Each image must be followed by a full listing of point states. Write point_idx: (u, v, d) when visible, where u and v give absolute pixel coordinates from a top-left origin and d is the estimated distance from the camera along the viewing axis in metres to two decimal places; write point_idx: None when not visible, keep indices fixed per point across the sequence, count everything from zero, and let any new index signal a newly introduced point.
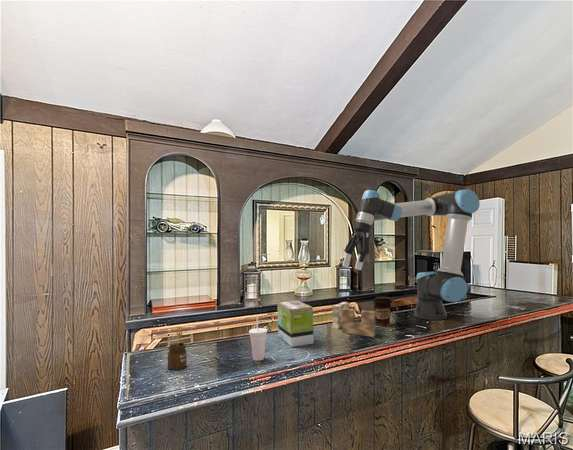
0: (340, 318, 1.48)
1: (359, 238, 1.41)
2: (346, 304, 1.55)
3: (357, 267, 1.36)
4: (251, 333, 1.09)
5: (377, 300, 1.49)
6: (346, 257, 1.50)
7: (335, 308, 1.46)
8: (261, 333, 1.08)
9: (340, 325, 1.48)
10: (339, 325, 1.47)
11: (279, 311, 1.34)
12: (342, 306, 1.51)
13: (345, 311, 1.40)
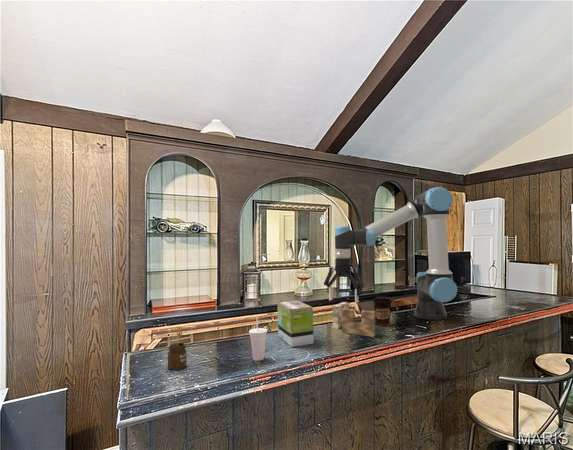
0: (340, 318, 1.48)
1: (348, 274, 1.54)
2: (346, 304, 1.55)
3: (357, 301, 1.51)
4: (251, 333, 1.09)
5: (377, 300, 1.49)
6: (330, 291, 1.59)
7: (335, 308, 1.46)
8: (261, 333, 1.08)
9: (340, 325, 1.48)
10: (339, 325, 1.47)
11: (279, 311, 1.34)
12: (342, 306, 1.51)
13: (345, 311, 1.40)
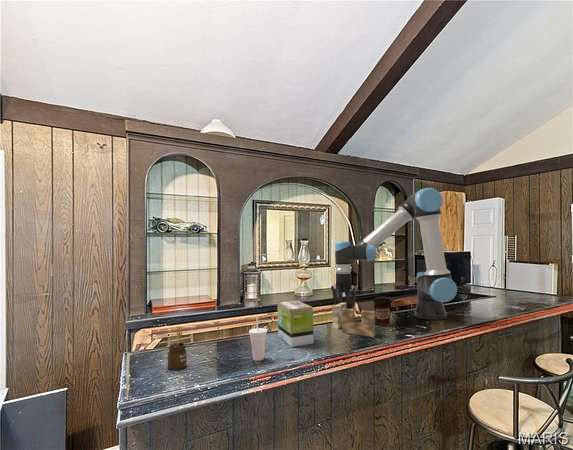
0: (340, 318, 1.48)
1: (346, 291, 1.54)
2: (346, 304, 1.55)
3: None
4: (251, 333, 1.09)
5: (377, 300, 1.49)
6: None
7: (335, 308, 1.46)
8: (261, 333, 1.08)
9: (340, 325, 1.48)
10: (339, 325, 1.47)
11: (279, 311, 1.34)
12: (342, 306, 1.51)
13: (345, 311, 1.40)
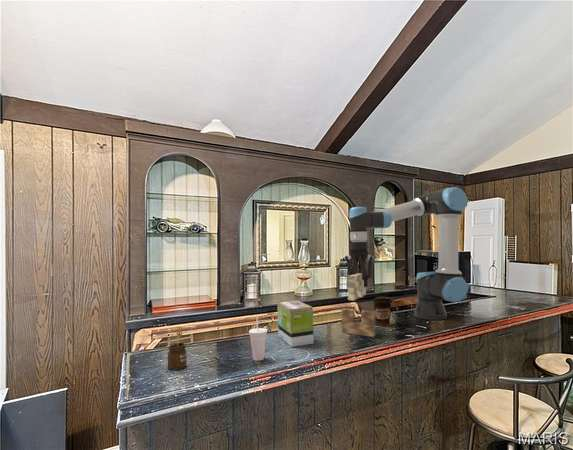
0: (356, 289, 1.35)
1: (362, 260, 1.41)
2: (362, 275, 1.42)
3: (364, 293, 1.41)
4: (251, 333, 1.09)
5: (377, 300, 1.49)
6: None
7: (351, 278, 1.33)
8: (261, 333, 1.08)
9: (356, 297, 1.35)
10: (355, 297, 1.34)
11: (279, 311, 1.34)
12: (358, 276, 1.38)
13: (345, 311, 1.40)
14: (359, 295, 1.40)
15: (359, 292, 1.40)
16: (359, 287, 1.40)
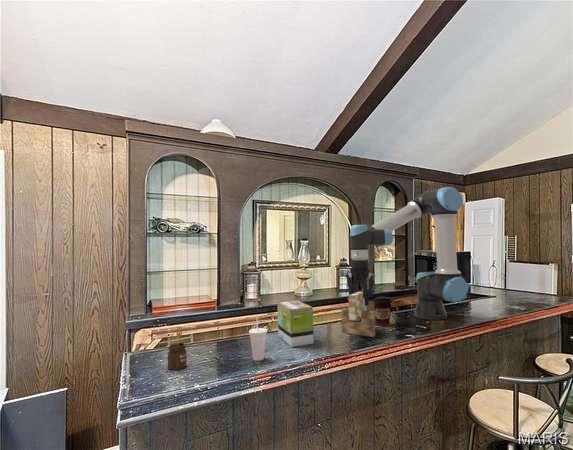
0: (357, 308, 1.35)
1: (363, 279, 1.40)
2: (363, 293, 1.41)
3: None
4: (251, 333, 1.09)
5: (377, 300, 1.49)
6: None
7: (352, 297, 1.33)
8: (261, 333, 1.08)
9: (357, 316, 1.34)
10: (356, 316, 1.33)
11: (279, 311, 1.34)
12: (359, 295, 1.37)
13: (345, 311, 1.40)
14: (360, 314, 1.39)
15: (360, 311, 1.39)
16: (360, 306, 1.39)
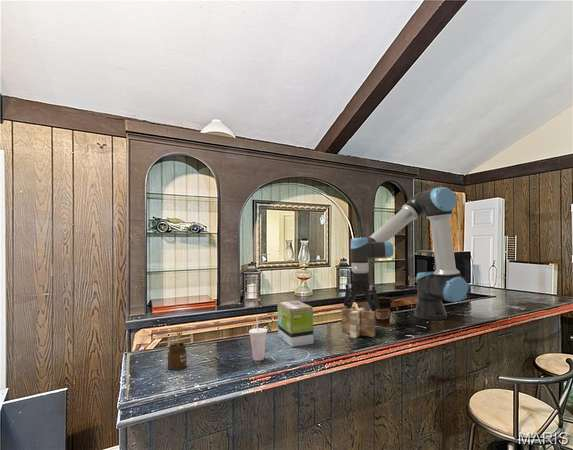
0: (358, 326, 1.34)
1: (365, 291, 1.39)
2: None
3: None
4: (251, 333, 1.09)
5: None
6: None
7: (353, 315, 1.32)
8: (261, 333, 1.08)
9: (358, 333, 1.34)
10: (357, 334, 1.33)
11: (279, 311, 1.34)
12: (360, 312, 1.37)
13: (345, 311, 1.40)
14: None
15: None
16: None
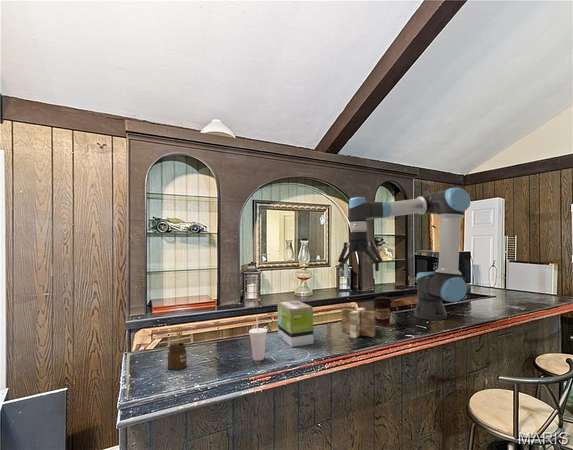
0: (358, 326, 1.34)
1: (365, 248, 1.42)
2: None
3: (375, 277, 1.40)
4: (251, 333, 1.09)
5: (377, 300, 1.49)
6: (346, 268, 1.47)
7: (353, 315, 1.32)
8: (261, 333, 1.08)
9: (358, 333, 1.34)
10: (357, 334, 1.33)
11: (279, 311, 1.34)
12: (360, 312, 1.37)
13: (345, 311, 1.40)
14: None
15: None
16: None
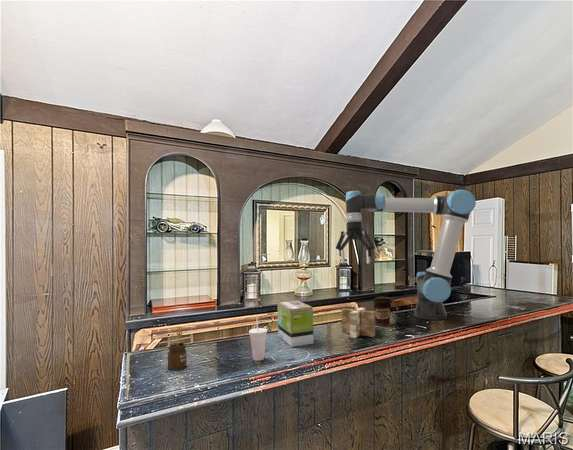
0: (358, 326, 1.34)
1: (359, 236, 1.60)
2: None
3: (368, 261, 1.58)
4: (251, 333, 1.09)
5: (377, 300, 1.49)
6: (342, 254, 1.65)
7: (353, 315, 1.32)
8: (261, 333, 1.08)
9: (358, 333, 1.34)
10: (357, 334, 1.33)
11: (279, 311, 1.34)
12: (360, 312, 1.37)
13: (345, 311, 1.40)
14: None
15: None
16: None
